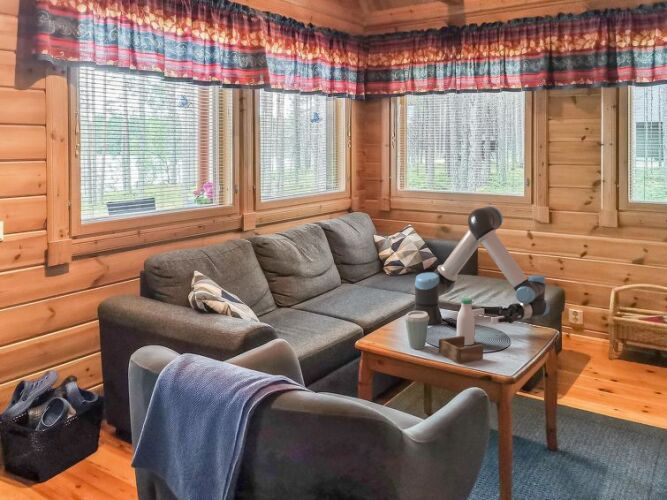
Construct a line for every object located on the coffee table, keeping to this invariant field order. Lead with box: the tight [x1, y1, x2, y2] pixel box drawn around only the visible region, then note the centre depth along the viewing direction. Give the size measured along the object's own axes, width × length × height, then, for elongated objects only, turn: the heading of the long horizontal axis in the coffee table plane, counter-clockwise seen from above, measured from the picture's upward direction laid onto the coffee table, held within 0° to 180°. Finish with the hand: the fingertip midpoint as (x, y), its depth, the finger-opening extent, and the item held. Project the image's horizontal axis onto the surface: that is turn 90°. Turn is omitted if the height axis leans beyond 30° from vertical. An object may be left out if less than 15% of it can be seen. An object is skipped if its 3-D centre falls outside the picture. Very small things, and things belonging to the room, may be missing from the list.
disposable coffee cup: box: [404, 310, 429, 350], centre depth 258 cm, size 11×11×15 cm
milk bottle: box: [456, 297, 476, 346], centre depth 262 cm, size 8×8×20 cm
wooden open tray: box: [438, 335, 484, 365], centre depth 247 cm, size 14×12×6 cm
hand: (481, 316), depth 265 cm, fingers open, 13 cm apart
